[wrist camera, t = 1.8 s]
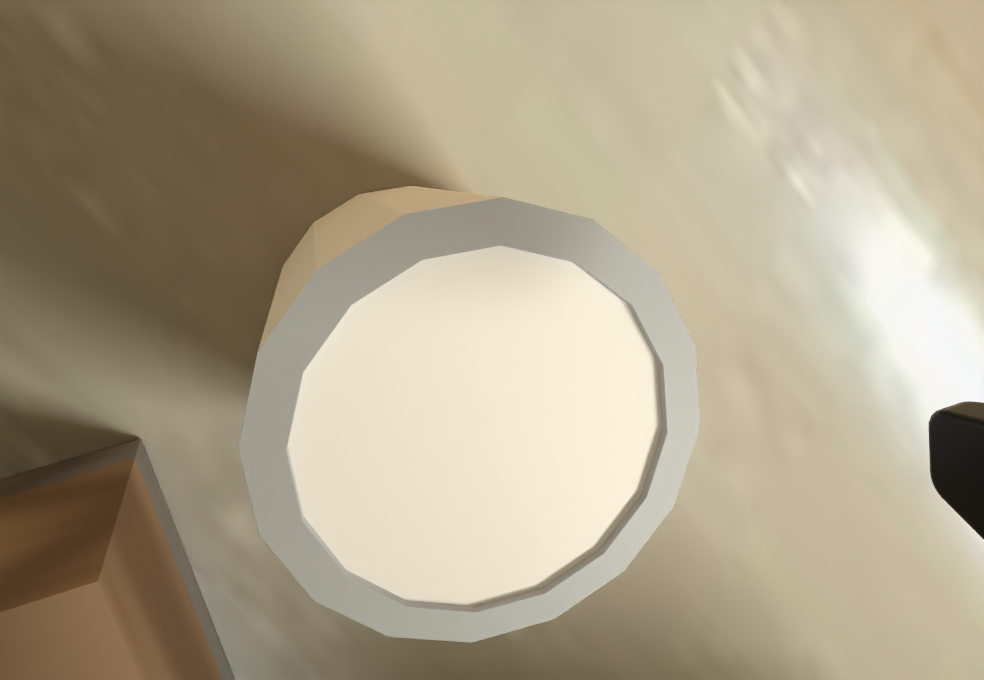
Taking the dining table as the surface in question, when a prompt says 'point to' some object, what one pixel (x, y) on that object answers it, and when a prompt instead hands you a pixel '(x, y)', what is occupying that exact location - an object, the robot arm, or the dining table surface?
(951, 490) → the robot arm
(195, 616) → the well box
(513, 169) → the dining table surface
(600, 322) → the cream and grey cup
